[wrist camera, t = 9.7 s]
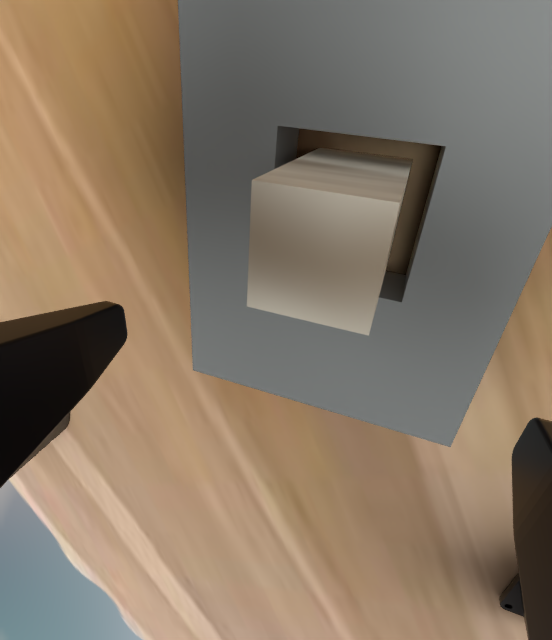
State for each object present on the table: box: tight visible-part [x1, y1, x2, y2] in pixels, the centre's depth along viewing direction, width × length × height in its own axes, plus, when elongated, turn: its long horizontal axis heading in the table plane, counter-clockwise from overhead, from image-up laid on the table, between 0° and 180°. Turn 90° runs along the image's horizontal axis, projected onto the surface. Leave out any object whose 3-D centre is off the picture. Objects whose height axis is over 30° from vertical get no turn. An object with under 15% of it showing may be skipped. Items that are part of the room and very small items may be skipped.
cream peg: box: [247, 148, 413, 336], centre depth 15 cm, size 4×4×8 cm
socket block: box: [178, 0, 552, 447], centre depth 17 cm, size 20×14×3 cm
